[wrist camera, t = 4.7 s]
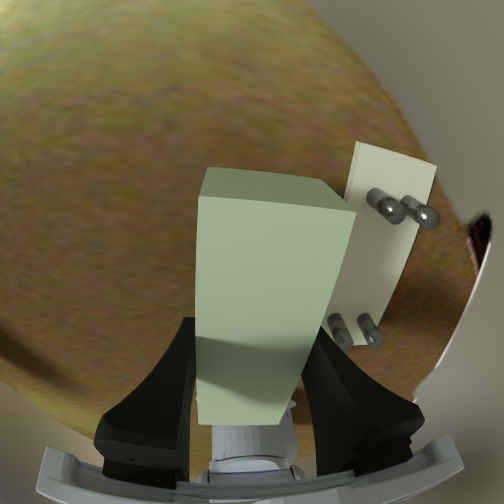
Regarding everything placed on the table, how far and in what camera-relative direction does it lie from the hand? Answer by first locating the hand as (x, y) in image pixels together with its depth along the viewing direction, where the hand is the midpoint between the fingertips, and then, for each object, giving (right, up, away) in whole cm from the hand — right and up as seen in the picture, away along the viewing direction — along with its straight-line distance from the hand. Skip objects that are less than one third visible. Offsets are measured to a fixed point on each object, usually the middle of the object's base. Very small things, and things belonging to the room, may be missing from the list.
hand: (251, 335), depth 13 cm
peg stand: (+9, +3, +9) cm, 13 cm away
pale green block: (0, +1, +2) cm, 3 cm away
